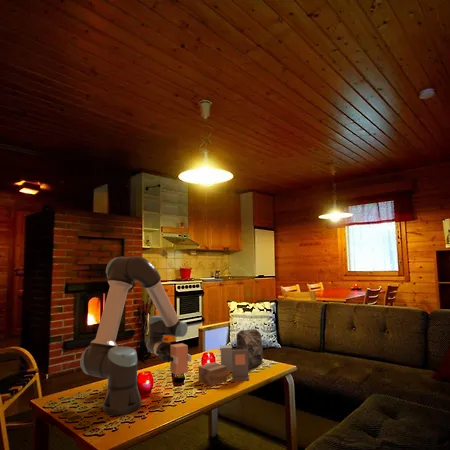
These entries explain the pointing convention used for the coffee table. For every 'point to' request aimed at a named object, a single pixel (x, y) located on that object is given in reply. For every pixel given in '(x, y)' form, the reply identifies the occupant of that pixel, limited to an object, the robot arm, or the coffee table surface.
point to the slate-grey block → (226, 356)
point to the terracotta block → (179, 358)
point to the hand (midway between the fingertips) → (184, 359)
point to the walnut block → (212, 373)
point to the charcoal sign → (240, 365)
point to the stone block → (251, 345)
